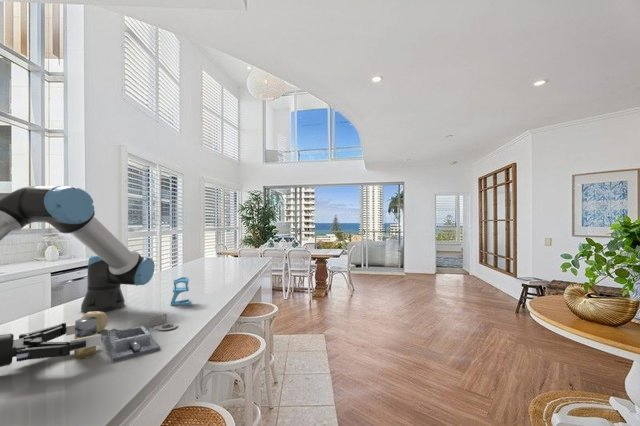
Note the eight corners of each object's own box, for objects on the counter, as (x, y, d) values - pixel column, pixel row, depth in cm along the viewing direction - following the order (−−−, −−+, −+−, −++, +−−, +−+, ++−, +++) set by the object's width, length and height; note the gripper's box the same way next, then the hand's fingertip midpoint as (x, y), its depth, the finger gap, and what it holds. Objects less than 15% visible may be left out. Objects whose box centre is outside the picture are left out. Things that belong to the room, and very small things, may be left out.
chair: (170, 302, 140) (171, 276, 140) (190, 300, 143) (190, 275, 143) (170, 307, 133) (170, 279, 133) (190, 305, 136) (191, 278, 136)
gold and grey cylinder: (73, 354, 86) (74, 319, 87) (94, 349, 90) (96, 315, 90) (74, 360, 83) (76, 324, 83) (97, 355, 86) (98, 320, 86)
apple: (69, 335, 98) (75, 311, 102) (92, 337, 105) (97, 315, 109) (89, 330, 97) (94, 306, 101) (111, 332, 104) (115, 310, 108)
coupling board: (100, 339, 97) (101, 328, 97) (142, 330, 105) (143, 320, 105) (112, 362, 82) (113, 349, 83) (160, 349, 91) (160, 338, 91)
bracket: (163, 333, 104) (163, 323, 104) (148, 327, 109) (148, 317, 110) (181, 328, 109) (181, 318, 110) (165, 322, 115) (166, 313, 115)
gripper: (-6, 350, 83) (90, 332, 97) (-18, 390, 64) (103, 360, 79) (-5, 323, 83) (91, 308, 97) (-16, 355, 64) (104, 331, 79)
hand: (97, 331), depth 88 cm, fingers open, 13 cm apart
